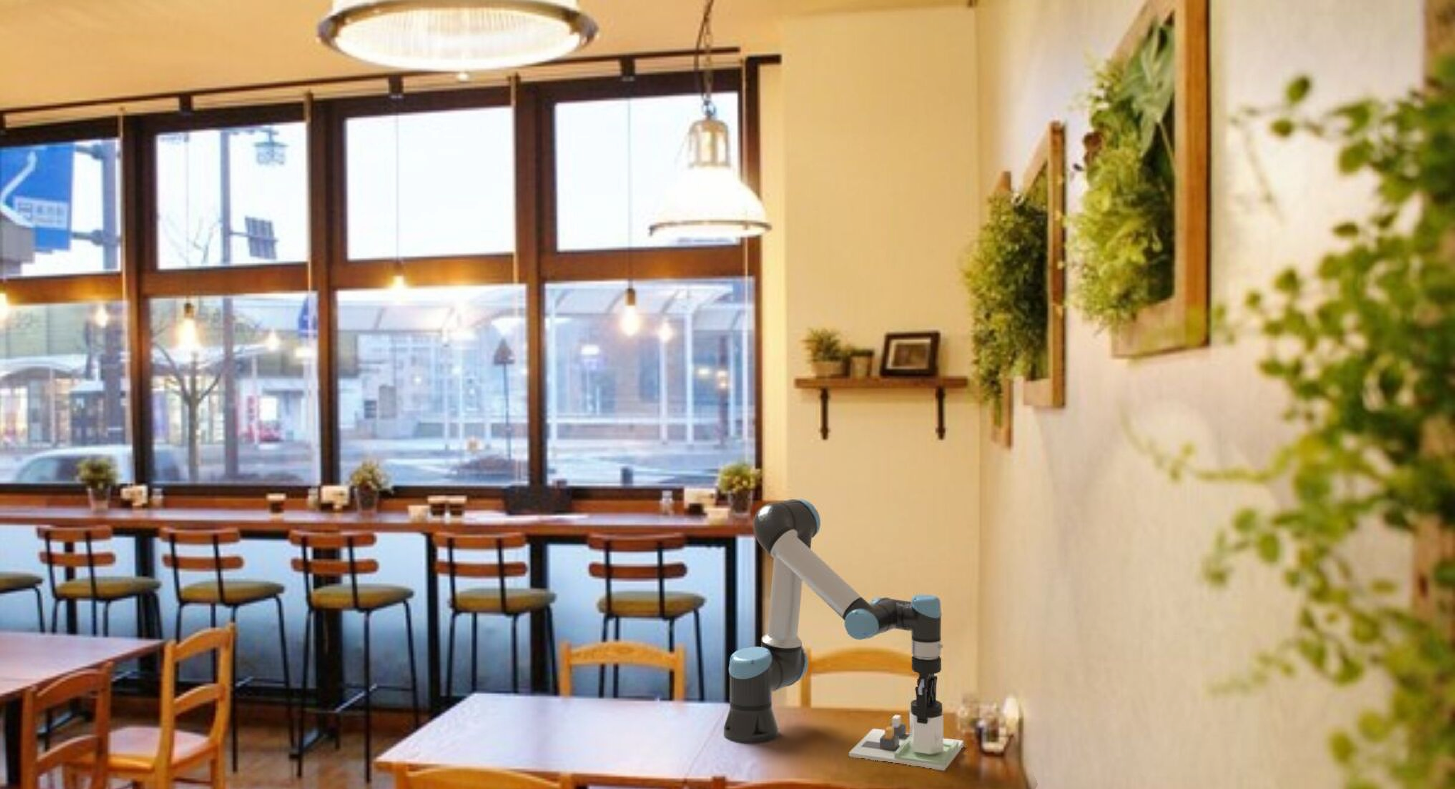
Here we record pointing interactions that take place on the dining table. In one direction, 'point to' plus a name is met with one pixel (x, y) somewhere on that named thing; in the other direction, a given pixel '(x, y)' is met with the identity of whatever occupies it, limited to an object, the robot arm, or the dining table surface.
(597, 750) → the dining table surface
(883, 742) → the toggle tagged
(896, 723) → the toggle plain
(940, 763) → the panel
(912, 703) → the jar
